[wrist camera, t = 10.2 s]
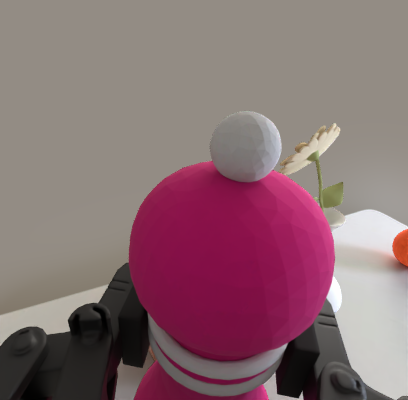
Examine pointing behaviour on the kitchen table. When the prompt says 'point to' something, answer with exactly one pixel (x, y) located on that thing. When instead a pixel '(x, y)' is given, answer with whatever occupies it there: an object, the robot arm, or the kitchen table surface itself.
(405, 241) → the clementine
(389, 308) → the kitchen table surface
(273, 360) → the pepper mill
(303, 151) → the flower in vase
